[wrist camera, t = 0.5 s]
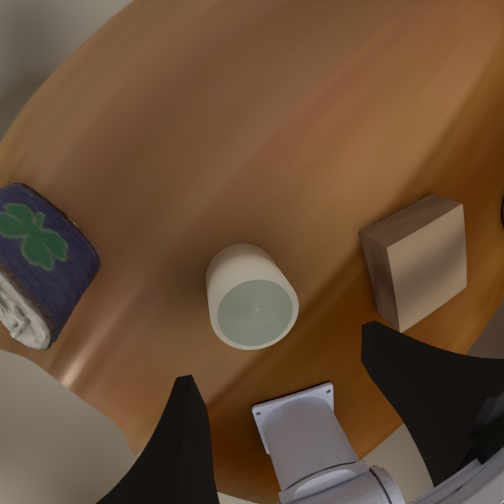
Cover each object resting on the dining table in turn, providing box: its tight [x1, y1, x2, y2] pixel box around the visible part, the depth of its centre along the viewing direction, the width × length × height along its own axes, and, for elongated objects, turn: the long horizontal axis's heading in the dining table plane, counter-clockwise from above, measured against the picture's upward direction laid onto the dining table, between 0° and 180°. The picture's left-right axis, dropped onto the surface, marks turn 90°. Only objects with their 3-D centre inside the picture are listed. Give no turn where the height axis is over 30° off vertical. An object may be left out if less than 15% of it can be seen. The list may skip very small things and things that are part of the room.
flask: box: [0, 184, 101, 350], centre depth 12 cm, size 9×3×11 cm, turn 45°
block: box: [359, 194, 467, 333], centre depth 22 cm, size 8×8×4 cm
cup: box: [205, 243, 299, 350], centre depth 19 cm, size 5×5×5 cm
